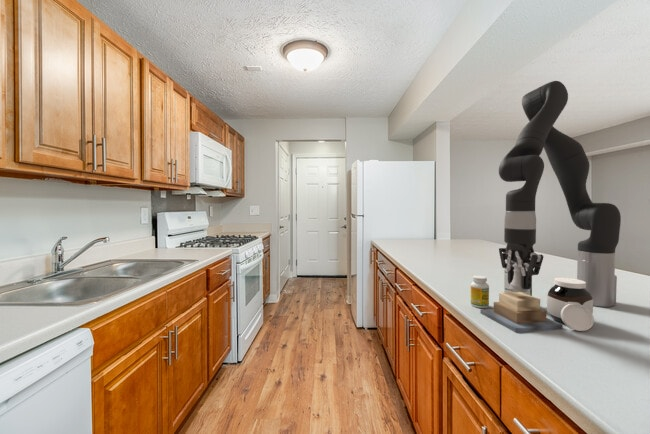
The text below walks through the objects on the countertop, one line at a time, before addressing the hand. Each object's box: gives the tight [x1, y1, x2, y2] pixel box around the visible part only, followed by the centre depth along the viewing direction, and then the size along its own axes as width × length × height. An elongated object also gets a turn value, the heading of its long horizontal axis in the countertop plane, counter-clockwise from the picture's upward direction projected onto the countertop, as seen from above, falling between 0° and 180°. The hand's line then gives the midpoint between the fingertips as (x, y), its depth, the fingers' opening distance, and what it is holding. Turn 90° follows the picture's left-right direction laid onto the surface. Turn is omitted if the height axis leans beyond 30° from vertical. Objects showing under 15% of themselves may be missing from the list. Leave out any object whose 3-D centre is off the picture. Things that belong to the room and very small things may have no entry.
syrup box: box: [503, 260, 533, 296], centre depth 99 cm, size 6×6×14 cm
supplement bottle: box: [470, 275, 490, 309], centre depth 98 cm, size 5×5×10 cm
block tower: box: [480, 292, 564, 333], centre depth 86 cm, size 14×14×7 cm
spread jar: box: [546, 277, 595, 332], centre depth 83 cm, size 12×11×12 cm
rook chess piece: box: [510, 262, 528, 292], centre depth 85 cm, size 4×4×8 cm
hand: (518, 286), depth 85 cm, fingers closed on rook chess piece, 4 cm apart
